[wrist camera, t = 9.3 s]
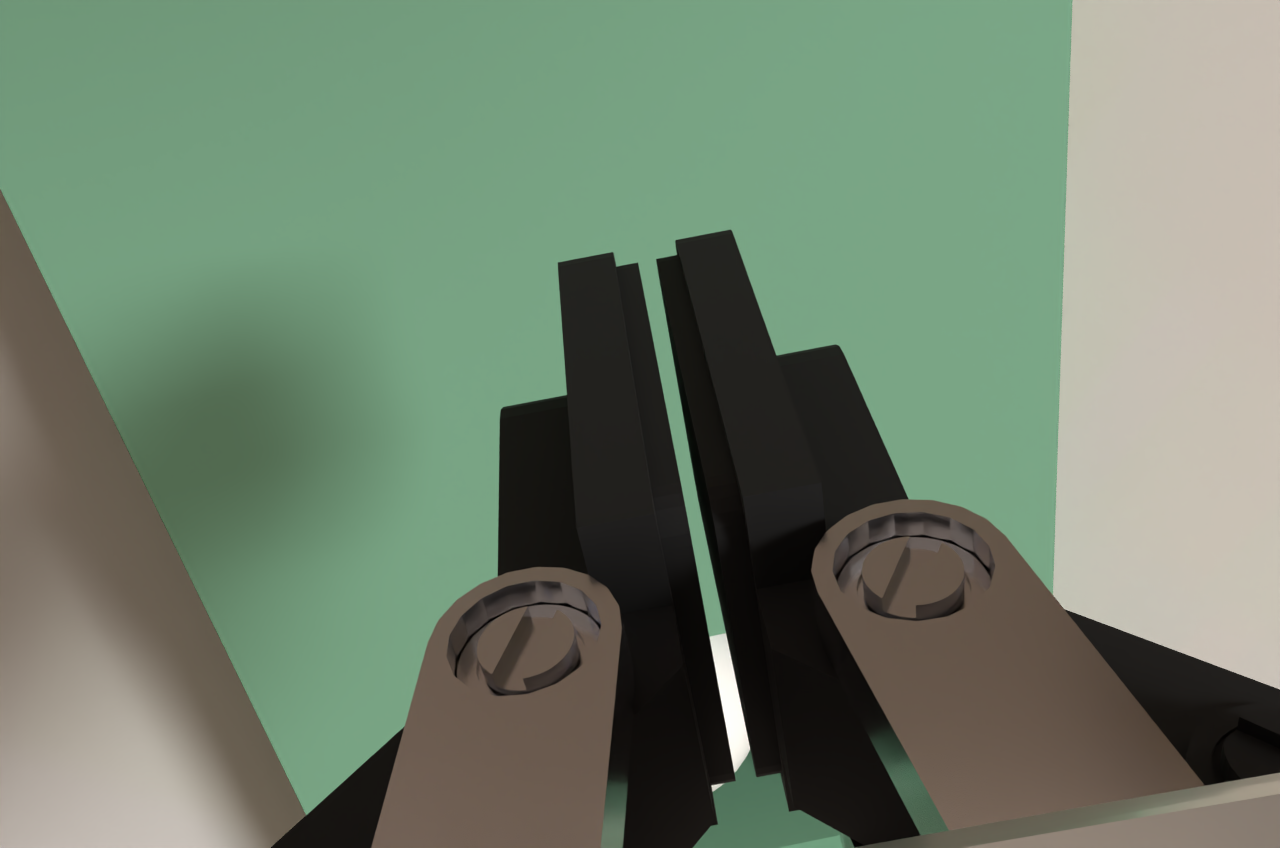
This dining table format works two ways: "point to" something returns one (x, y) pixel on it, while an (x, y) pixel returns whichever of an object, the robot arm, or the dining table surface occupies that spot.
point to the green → (516, 278)
